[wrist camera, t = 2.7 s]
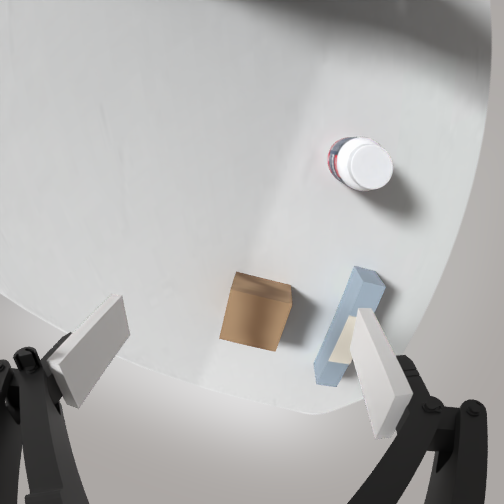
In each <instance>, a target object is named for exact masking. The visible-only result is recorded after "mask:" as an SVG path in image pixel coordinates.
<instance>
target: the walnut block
mask: <svg viewBox="0 0 504 504" xmlns="http://www.w3.org/2000/svg"><path fill="white" fill-rule="evenodd" d="M291 307H292V294H291V285H288V284H284V283H280V282H276V281H272V280H267V279H263V278H259V277H255V276H251V275H247V274H244V273H240V272H236V274H235V277H234V280H233V284H232V287H231V290H230V294H229V299H228V303H227V307H226V312H225V316H224V320H223V325H222V329H221V333H220V338H219V339H223V340H227V341H231V342H235V343H239V344H244V345H248V346H252V347H257V348H261V349H265V350H270V351H276V349H277V346H278V343H279V340H280V338H281V335H282V332H283V329H284V327H285V324H286V321H287V318H288V315H289V312H290V310H291Z"/></svg>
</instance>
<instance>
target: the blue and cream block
mask: <svg viewBox="0 0 504 504" xmlns="http://www.w3.org/2000/svg"><path fill="white" fill-rule="evenodd" d="M385 288H386V286H385V285H384V283H383V282H382V280H381V279H380V278H379V276H378V275H377V273H376V272H375V271H372V270H368V269H365V268H361V267H357V266H354V268H353V270H352V273H351V276H350V278H349V281H348V284H347V286H346V289H345V291H344V294H343V297H342V299H341V302H340V304H339V306H338V309H337V311H336V314H335V316H334V319H333V321H332V323H331V326H330V328H329V330H328V333H327V335H326V337H325V340H324V342H323V344H322V346H321V349H320V351H319V353H318V355H317V357H316V360H315V362H314V369H315V377H316V384H319V385H326V386H333V387H337V385H338V383H339V382H340V380H341V378H342V376H343V374H344V373H345V371H346V369H347V367H348V365H350V363H351V361H352V355H351V352H350V345H351V341H352V336H353V331H354V326H355V322H356V316H357V311H358V308H372V310H373V312H374V313H375V311H376V308H377V306H378V304H379V302H380V299H381V297H382V295H383V293H384V290H385Z"/></svg>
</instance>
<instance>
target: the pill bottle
mask: <svg viewBox="0 0 504 504" xmlns="http://www.w3.org/2000/svg"><path fill="white" fill-rule="evenodd" d="M327 163H328V167H329V170H330V172H331V173H332V175H333V176H334V177H335V178H336V179H338V180H339V181H341V182H342V183H344V184H346V185H347V186H349V187H350V188H352V189H355V190H358V191H370V190H373V189H379V188H381V187H383V186H385V185H386V184H387V183H388V182H389V180H390V178H391V176H392V173H393V162H392V159H391V157H390V155H389V153H388V152H387V151H386V150H385V149H384V148H382V147H381V145H380V144H378V143H377V142H376V141H374V140H372V139H370V138H366V137H349V138H343V139H340V140H338V141H336V142H335V143H334V144H333V145H332V146H331V148H330V150H329V152H328V156H327Z"/></svg>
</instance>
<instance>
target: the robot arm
mask: <svg viewBox="0 0 504 504" xmlns="http://www.w3.org/2000/svg"><path fill="white" fill-rule="evenodd" d="M129 336H130V332H129V327H128V322H127V318H126V313H125V307H124V302H123V297H122V295H114V294H111V295H110V296H109V297H108V298H107V299H106V300H105V301H104V302H103V303H102V304H101V305H100V306H99V307H98V308H97V309H96V310H95V311H94V312H93V313H92V314H91V315H90V316H89V317H88V318H87V319H86V320H85V321H84V322H83V323H82V324H81V325H80V326H79V327H78V328H77V329H76V330H75V331H74V332H73V333H71V332H70V333H68V334H67V335H65V336H63V337H62V338H61V339H60V340H59V341H58V342H57V343H56V344H55V345H54V346H53V348H52V349H50V350H49V352H47V354H46V355H45V356H44V357H43V358H42V359H41V360H40V359H39V356H38V354H37V351H36V349H34V348H32V347H24V348H22V349H20V350H18V351H17V352H16V353H15V354H14V357H13V358H14V360H15V363H16V365H17V367H18V369H14V368H11V366H10V364H9V362H8V361H7V360H0V504H17V493H18V479H19V468H20V459H21V451H22V444H23V453H24V460H25V466H26V473H27V479H28V484H29V489H30V494H28V495H26V496H25V504H89V502H88V499H87V496H86V494H85V491H84V488H83V485H82V482H81V480H80V476H79V473H78V470H77V467H76V464H75V460H74V457H73V454H72V449H71V446H70V442H69V438H68V434H67V430H66V425H65V420H64V416H63V411H62V406H61V403H60V401H59V400H60V399H61V397H62V396H63V398H64V400H65V401H66V403H67V405H70V406H73V407H76V408H80V406H81V405H82V403H83V402H84V400H85V399H86V397H87V396H88V394H89V393H90V391H91V390H92V388H93V387H94V385H95V384H96V382H97V381H98V380H99V378H100V377H101V375H102V374H103V372H104V371H105V369H106V368H107V367H108V365H109V364H110V363H111V361H112V360H113V358H114V357H115V355H116V354H117V353H118V351H119V350H120V348H121V347H122V346H123V344H124V343H125V341H126V340H127V339H128V337H129ZM350 352H351V355H352V359H353V362H354V365H355V369H356V372H357V375H358V379H359V382H360V386H361V389H362V393H363V396H364V400H365V403H366V407H367V410H368V414H369V418H370V422H371V425H372V429H373V434H374V438H375V439H382V438H390V437H392V435H393V433H394V431H395V430H396V431H397V436H396V438H395V439H394V441H393V442H392V444H391V445H390V447H389V448H388V450H387V451H386V453H385V454H384V456H383V457H382V459H381V460H380V462H379V463H378V464H377V466H376V467H375V469H374V470H373V471H372V473H371V474H370V476H369V477H368V478H367V480H366V481H365V482H364V483H363V485H362V486H361V487H360V489H359V490H358V491H357V492H356V494H355V495H354V496H353V497H352V498H351V500H350V501H349V502H348V503H347V504H396V503H397V502H398V500H399V499H400V497H401V496H402V494H403V492H404V491H405V489H406V487H407V486H408V484H409V482H410V481H411V479H412V477H413V475H414V474H415V472H416V470H417V468H418V466H419V465H420V463H421V461H422V459H423V457H424V455H425V453H426V451H435V456H434V462H433V467H432V472H431V477H430V482H429V486H428V491H427V495H426V499H425V503H424V504H484V500H485V491H486V478H487V456H488V451H487V450H488V442H487V441H488V435H487V413H486V408H485V407H484V405H483V404H482V403H480V402H479V401H476V400H467V401H465V402H464V403H462V405H461V406H460V408H454V407H445V406H444V405H443V403H442V402H441V401H440V400H439V399H437V398H436V397H433V396H430V394H429V392H428V390H427V389H426V386H425V384H424V382H423V380H422V378H421V377H420V376H419V372H418V371H417V370H416V367H415V365H414V363H413V361H412V360H411V359H409V358H408V357H407V356H406V355H400V356H395V354H394V352H393V349H392V347H391V345H390V343H389V341H388V339H387V337H386V335H385V333H384V331H383V329H382V328H381V326H380V324H379V322H378V320H377V318H376V316H375V314H374V312H373V310H372V308H358V311H357V316H356V322H355V326H354V331H353V336H352V341H351V345H350ZM5 401H6V403H5Z"/></svg>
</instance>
